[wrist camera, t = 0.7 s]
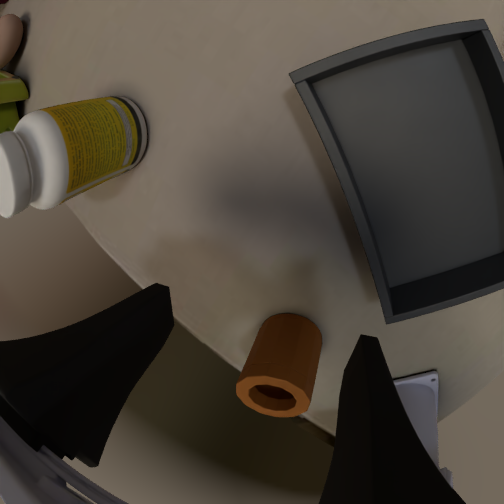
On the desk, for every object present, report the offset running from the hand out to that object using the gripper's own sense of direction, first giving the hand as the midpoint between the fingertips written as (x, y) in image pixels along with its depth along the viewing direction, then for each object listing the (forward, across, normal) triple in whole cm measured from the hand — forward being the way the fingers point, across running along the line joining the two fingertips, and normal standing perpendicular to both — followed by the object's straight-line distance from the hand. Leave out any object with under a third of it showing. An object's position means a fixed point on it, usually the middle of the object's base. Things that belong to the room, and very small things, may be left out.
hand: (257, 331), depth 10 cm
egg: (+8, +31, -21) cm, 38 cm away
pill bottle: (+10, +14, -5) cm, 18 cm away
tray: (+10, -8, -5) cm, 14 cm away
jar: (+10, -1, +10) cm, 15 cm away
